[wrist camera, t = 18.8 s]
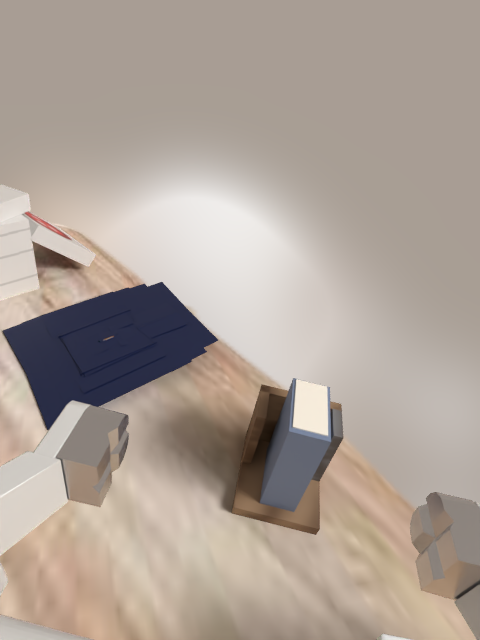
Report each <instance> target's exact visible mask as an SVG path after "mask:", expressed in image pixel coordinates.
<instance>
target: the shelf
mask: <svg viewBox="0 0 480 640" xmlns="http://www.w3.org/2000/svg"><path fill="white" fill-rule="evenodd" d="M287 394H288V391H286V390H282V389H278V388H274V387H270V386H266V385H262V386H261V389H260V392H259V395H258V399H257V402H256V405H255V409H254V412H253V415H252V418H251V422H250V425H249V428H248V430H247V434H246V438H245V443H244V449H243V454H242V459H241V465H240V470H239V476H238V481H237V487H236V492H235V497H234V503H233V508H232V513H234V514H238V515H241V516H245V517H249V518H253V519H257V520H261V521H265V522H269V523H273V524H276V525H280V526H284V527H288V528H292V529H296V530H300V531H304V532H308V533H312V534H315V535H316V534H317V532H318V531H319V529H320V504H319V481H320V479H321V477H322V475H323V474H324V472H325V470H326V468H327V466H328V465H329V463H330V461H331V459H332V457H333V456H334V454H335V452H336V450H337V448H338V447H339V445H340V443H341V441H342V439H343V425H342V409H341V404H339V403H335V402H331V401H330V417H331V443H330V445H329V447H328V449H327V451H326V453H325V455H324V457H323V458H322V460H321V462H320V464H319V466H318V468H317V470H316V472H315V474H314V475H313V477H312V479H311V481H310V483H309V485H308V487H307V489H306V491H305V492H304V494H303V496H302V498H301V500H300V502H299V504H298V506H297V508H296V509H295V511H294V512H292V511H288V510H284V509H280V508H276V507H272V506H269V505H265V504H261V503H260V497H261V490H262V482H263V475H264V467H265V459H266V452H267V448H268V445H269V443H270V440H271V437H272V435H273V432H274V429H275V427H276V424H277V421H278V418H279V416H280V413H281V410H282V408H283V405H284V402H285V399H286V397H287Z"/></svg>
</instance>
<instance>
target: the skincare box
mask: <svg viewBox="0 0 480 640" xmlns="http://www.w3.org/2000/svg"><path fill="white" fill-rule="evenodd" d="M376 640H412V639H407V638H402V637H397V636H392V635H387V634H381V636H379V637H378V638H377V639H376Z"/></svg>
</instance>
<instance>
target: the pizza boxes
mask: <svg viewBox="0 0 480 640" xmlns="http://www.w3.org/2000/svg"><path fill="white" fill-rule="evenodd" d="M30 210H31V207H30V201H29V194H28V193H25V192H22V191H19V190H16V189H13V188H10V187H7V186H4V185H1V184H0V301H1V300H5V299H8V298H11V297H14V296H17V295H20V294H23V293H27V292H30V291H33V290H36V289H39V288H40V287H39V281H38V275H37V269H36V263H35V256H34V250H33V244H32V241H33V242H36V243H38V244H40V245H42V246H44V247H46V248H49V249H51V250H53V251H55V252H57V253H59V254H62V255H64V256H66V257H68V258H70V259H72V260H74V261H77V262H79V263H81V264H83V265H85V266H87V267H89V265H90V264H91V262H92V261H93V259H94V258H95V256H96V254H94V253H93V252H92V251H90V250H89V249H88V248H86V247H85V246H83V245H82V244H81V243H79V242H78V241H77V240H75V239H74V238H73V237H71V236H70V235H69V234H67V233H66V232H64V231H63V230H62V229H60V228H59V227H57V226H55V225H53V224H51V223H49V222H48V221H46V220H44V219H42V218H40V217H38V216H36V215H35V214H33V213H31V212H29V211H30Z"/></svg>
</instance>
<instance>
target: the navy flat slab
mask: <svg viewBox="0 0 480 640" xmlns="http://www.w3.org/2000/svg"><path fill="white" fill-rule="evenodd" d="M3 332H4V334H5V336H6V338H7V340H8V341H9V343H10V345H11V347H12V349H13V350H14V352H15V354H16V356H17V358H18V360H19V361H20V363H21V365H22V367H23V369H24V370H25V372H26V374H27V377H28V379H29V382H30V385H31V387H32V390H33V393H34V395H35V398H36V400H37V403H38V406H39V408H40V411H41V413H42V416H43V419H44V421H45V424H46V426H47V429H48V430H49V429H50V428H51V426H52V425H53V423H54V422H55V421H56V419H57V418H58V416H59V415H60V413H61V412H62V410H63V409H64V408H65V406H66V405H67V404H68V403H69V402H71V401H72V400H73V401H77V402H81V403H85V404H89V405H92V406H96V407H99V406H101V405H103V404H105V403H107V402H109V401H111V400H113V399H115V398H117V397H119V396H121V395H123V394H126V393H128V392H130V391H132V390H134V389H136V388H138V387H140V386H142V385H144V384H146V383H148V382H150V381H152V380H155V379H157V378H159V377H161V376H163V375H165V374H167V373H169V372H171V371H174V370H176V369H178V368H180V367H182V366H184V365H186V364H188V363H190V362H192V361H191V360H192V359H194V358H196V357H197V356H199V355H201V354H203V353H205V352H207V351H206V350H205V349H204V347H206V346H208V345H210V344H212V343H214V342H216V341H218V339H217V338H216V337H215V336H214V335H213V334H212V333H211V332H210V331H209V330H208V329H207V328H206V327H205V326H204V325H203V324H202V323H201V322H200V321H199V320H198V319H197V318H196V317H195V316H194V315H193V314H192V313H191V312H190V311H189V310H188V309H187V308H186V307H185V306H184V305H183V304H182V303H181V302H180V301H179V300H178V299H177V297H176V296H174V294H173V293H172V292H171V291H170V290H169V289H168V288H167V287H166V286H165V285H164V284H163V282H160V283H157V284H155V285H151V286H148V287H147V286H146V285H145V284H142V285H139V286H136V287H133V288H130V289H129V288H125V289H122V290H119V291H116V292H110V293H107V294H104V295H101V296H98V297H95V298H92V299H89V300H86V301H83V302H80V303H77V304H74V305H71V306H68V307H65V308H63V309H60V310H57V311H54V312H51V313H48V314H45V315H42V316H40V317H37V318H34V319H32V320H29V321H26V322H23V323H22V324H20V325H17V326H14V327H11V328H9V329H6V330H3Z"/></svg>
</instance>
